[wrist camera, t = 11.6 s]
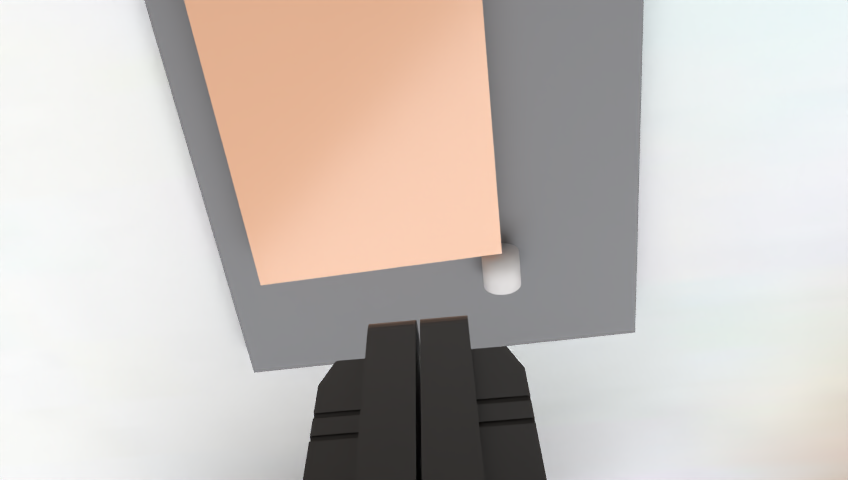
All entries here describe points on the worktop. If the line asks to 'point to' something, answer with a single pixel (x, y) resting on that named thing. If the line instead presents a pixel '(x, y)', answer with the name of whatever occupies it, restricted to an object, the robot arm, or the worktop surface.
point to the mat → (516, 189)
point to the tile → (353, 130)
